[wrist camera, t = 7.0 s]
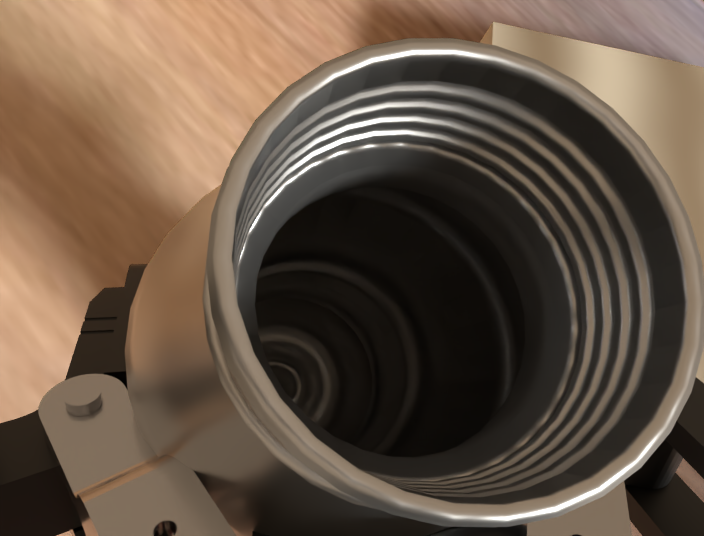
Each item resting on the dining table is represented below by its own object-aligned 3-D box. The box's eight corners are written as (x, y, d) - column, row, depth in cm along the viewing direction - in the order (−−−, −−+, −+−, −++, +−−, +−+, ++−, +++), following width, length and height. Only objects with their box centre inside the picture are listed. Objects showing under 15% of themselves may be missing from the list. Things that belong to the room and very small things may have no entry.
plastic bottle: (206, 293, 24) (91, -230, 4) (369, 322, 25) (844, -2, 5) (170, 460, 22) (-268, 776, 3) (347, 484, 23) (928, 835, 4)
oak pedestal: (431, 423, 25) (477, 426, 20) (450, 86, 29) (493, 21, 24) (780, 458, 27) (895, 468, 23) (752, 145, 31) (845, 98, 27)
